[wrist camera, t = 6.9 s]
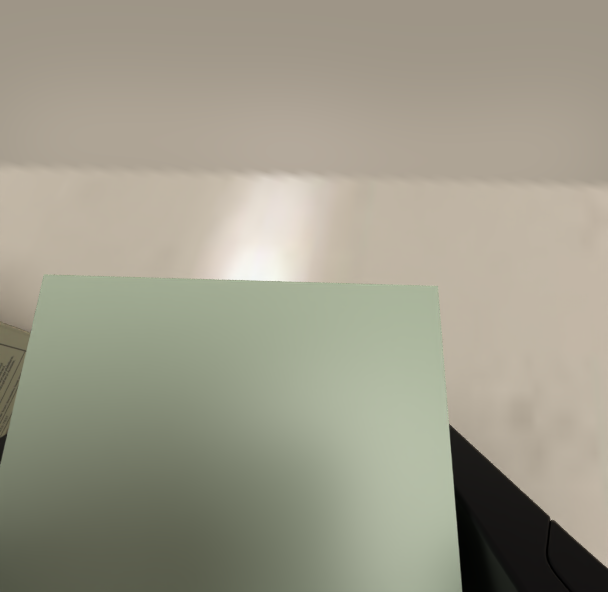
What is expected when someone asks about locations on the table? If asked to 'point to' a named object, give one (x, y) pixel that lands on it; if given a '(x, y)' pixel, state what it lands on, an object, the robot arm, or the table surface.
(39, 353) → the mint green pillar
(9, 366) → the skincare box
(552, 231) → the table surface
